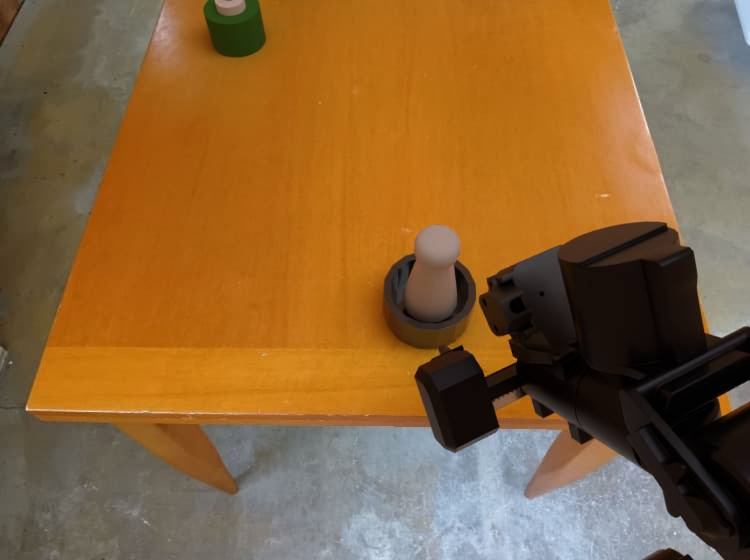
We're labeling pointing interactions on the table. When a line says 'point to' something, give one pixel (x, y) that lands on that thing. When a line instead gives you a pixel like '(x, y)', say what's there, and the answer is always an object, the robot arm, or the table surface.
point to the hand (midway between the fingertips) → (488, 329)
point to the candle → (235, 26)
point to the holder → (426, 332)
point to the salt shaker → (433, 275)
